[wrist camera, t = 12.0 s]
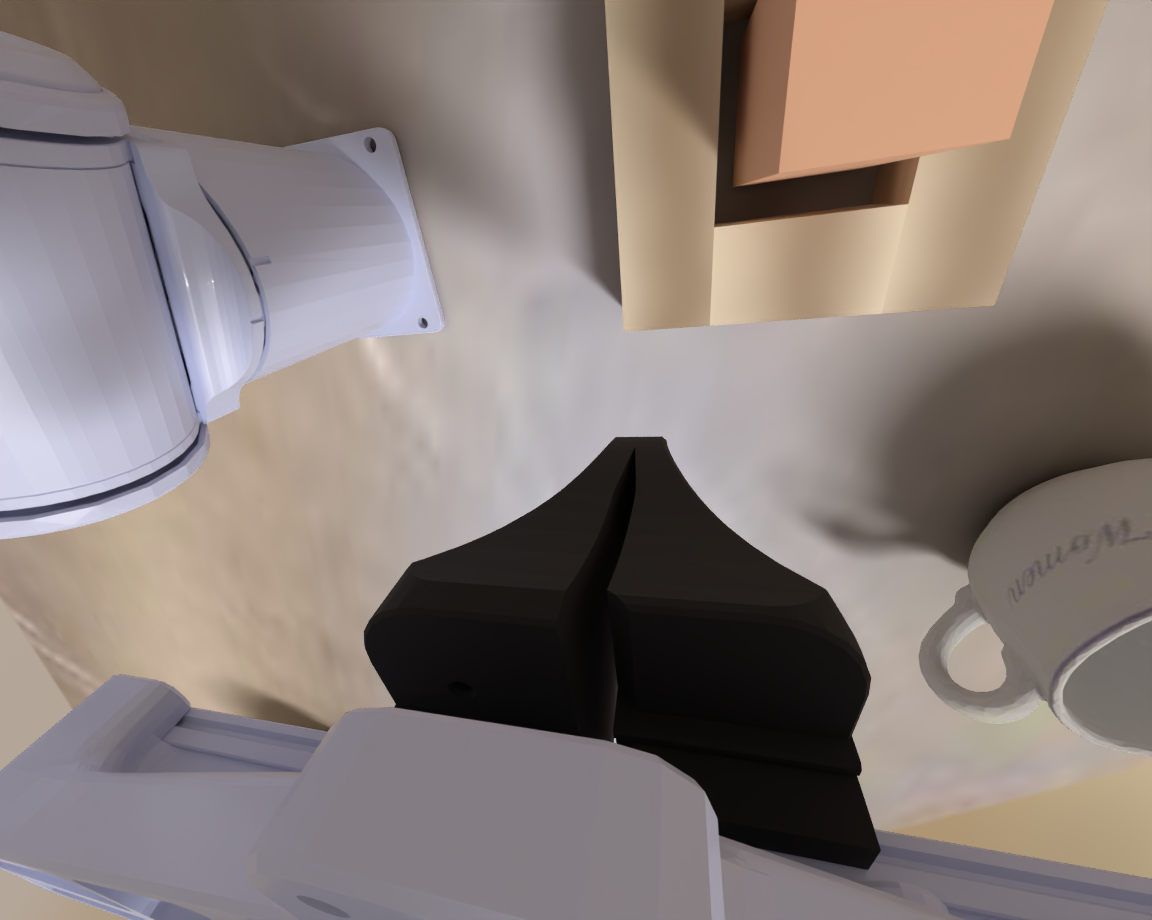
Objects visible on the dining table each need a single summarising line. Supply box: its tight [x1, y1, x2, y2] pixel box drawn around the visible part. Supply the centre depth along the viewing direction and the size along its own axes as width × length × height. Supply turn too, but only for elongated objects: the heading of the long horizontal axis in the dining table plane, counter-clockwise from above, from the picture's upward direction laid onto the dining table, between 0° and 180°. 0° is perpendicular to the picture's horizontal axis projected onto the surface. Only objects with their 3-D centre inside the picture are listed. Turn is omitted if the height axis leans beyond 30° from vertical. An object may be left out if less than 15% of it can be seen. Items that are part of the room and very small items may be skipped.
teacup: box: [919, 458, 1152, 756], centre depth 17 cm, size 14×11×8 cm
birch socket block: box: [605, 0, 1108, 332], centre depth 13 cm, size 12×12×3 cm
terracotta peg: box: [732, 0, 1054, 188], centre depth 11 cm, size 4×4×8 cm
